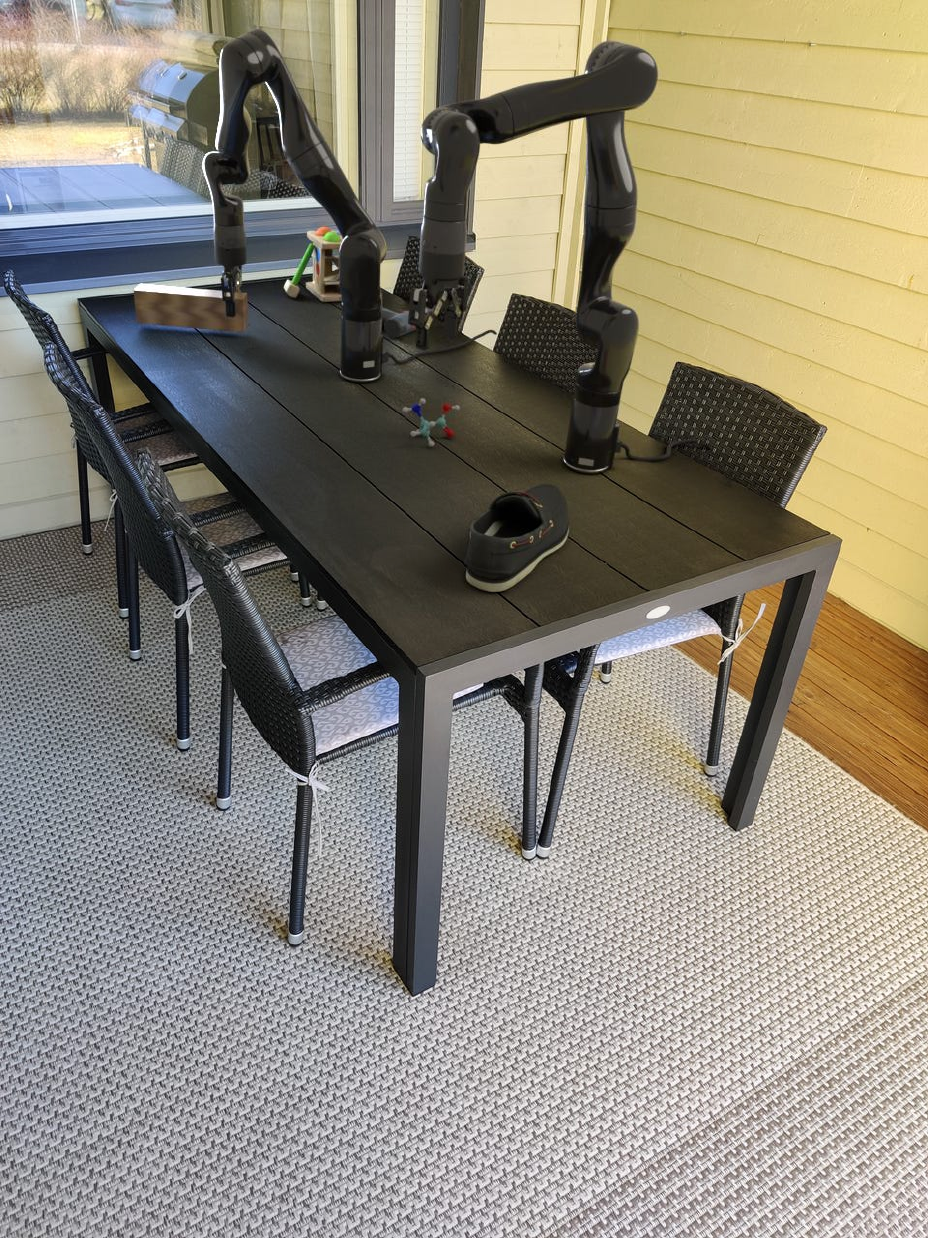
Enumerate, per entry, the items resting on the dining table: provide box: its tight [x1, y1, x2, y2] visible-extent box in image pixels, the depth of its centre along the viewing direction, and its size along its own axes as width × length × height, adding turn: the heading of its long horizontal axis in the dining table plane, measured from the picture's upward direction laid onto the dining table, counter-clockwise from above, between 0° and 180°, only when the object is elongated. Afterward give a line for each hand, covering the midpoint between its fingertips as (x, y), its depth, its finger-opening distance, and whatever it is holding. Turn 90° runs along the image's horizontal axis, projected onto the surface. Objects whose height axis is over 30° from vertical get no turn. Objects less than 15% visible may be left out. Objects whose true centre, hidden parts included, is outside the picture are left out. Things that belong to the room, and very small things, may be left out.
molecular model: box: [402, 398, 461, 448], centre depth 203 cm, size 12×10×10 cm
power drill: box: [381, 306, 435, 339], centre depth 263 cm, size 5×19×20 cm
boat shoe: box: [464, 483, 570, 593], centre depth 168 cm, size 13×33×10 cm, turn 147°
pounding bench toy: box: [283, 226, 343, 303], centre depth 277 cm, size 23×14×18 cm, turn 116°
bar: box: [133, 283, 249, 333], centre depth 244 cm, size 26×6×8 cm, turn 90°
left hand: (233, 312), depth 245 cm, fingers closed on bar, 5 cm apart
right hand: (436, 343), depth 169 cm, fingers open, 8 cm apart
